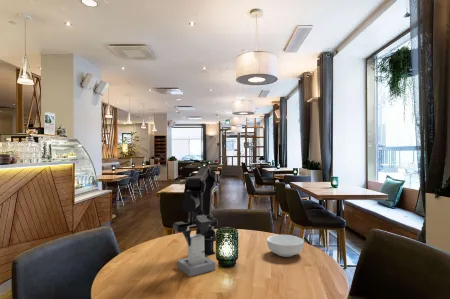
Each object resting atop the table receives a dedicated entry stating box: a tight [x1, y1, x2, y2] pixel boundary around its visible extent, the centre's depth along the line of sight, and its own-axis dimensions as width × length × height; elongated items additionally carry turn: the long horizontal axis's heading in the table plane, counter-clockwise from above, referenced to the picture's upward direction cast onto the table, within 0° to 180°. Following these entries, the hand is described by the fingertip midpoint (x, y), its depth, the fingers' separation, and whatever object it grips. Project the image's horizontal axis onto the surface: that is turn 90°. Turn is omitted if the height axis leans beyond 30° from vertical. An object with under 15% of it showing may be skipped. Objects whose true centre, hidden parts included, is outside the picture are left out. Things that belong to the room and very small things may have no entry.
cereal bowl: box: [266, 234, 304, 258], centre depth 137 cm, size 17×17×7 cm
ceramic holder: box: [176, 256, 217, 278], centre depth 121 cm, size 12×12×3 cm
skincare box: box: [187, 233, 206, 266], centre depth 121 cm, size 6×4×12 cm
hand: (196, 244), depth 121 cm, fingers closed on skincare box, 6 cm apart
